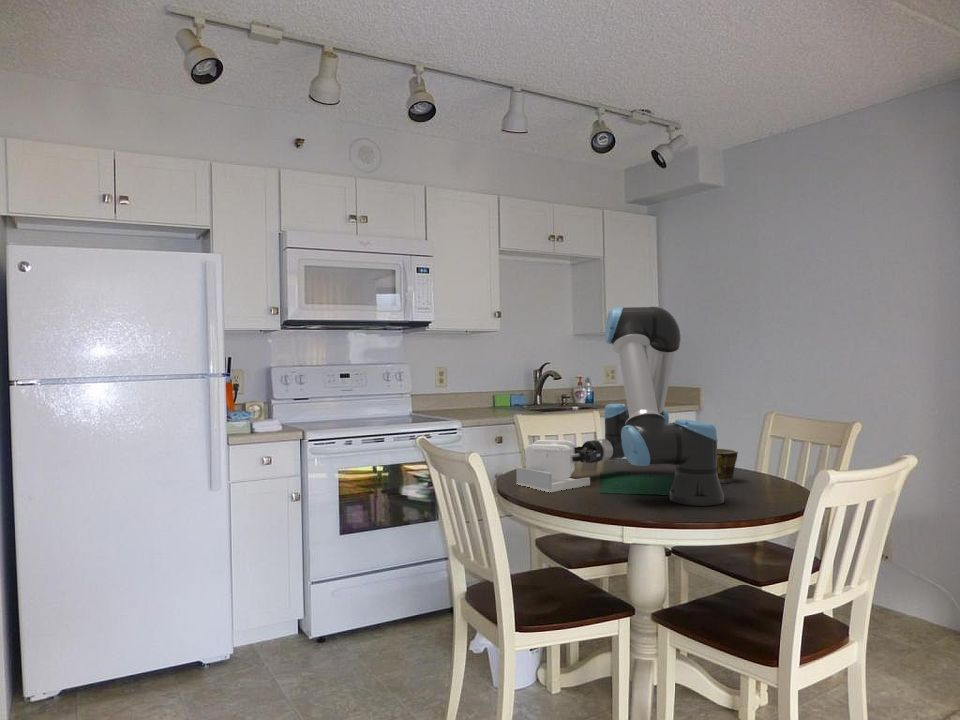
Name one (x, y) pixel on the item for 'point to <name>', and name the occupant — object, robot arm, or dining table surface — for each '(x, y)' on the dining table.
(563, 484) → the tray
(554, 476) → the cable organizer
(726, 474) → the ceramic cup
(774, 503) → the dining table surface
